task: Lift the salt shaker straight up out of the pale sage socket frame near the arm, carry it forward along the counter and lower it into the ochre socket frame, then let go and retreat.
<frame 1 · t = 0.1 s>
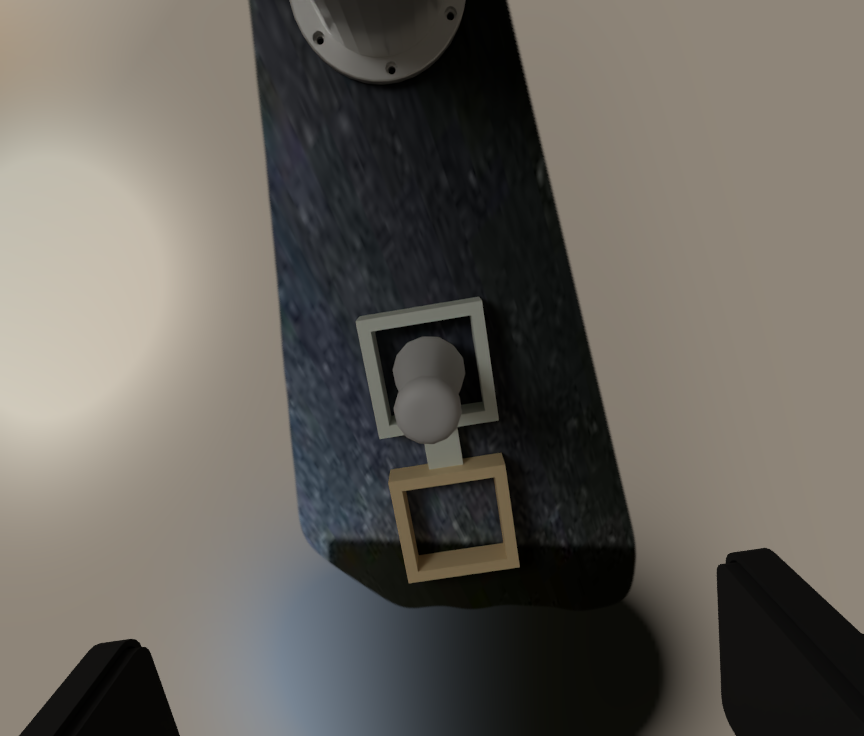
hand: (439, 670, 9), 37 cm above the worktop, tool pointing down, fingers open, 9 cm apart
sockets: (442, 440, 47), on the worktop
salt shaker: (429, 363, 45), resting in sockets
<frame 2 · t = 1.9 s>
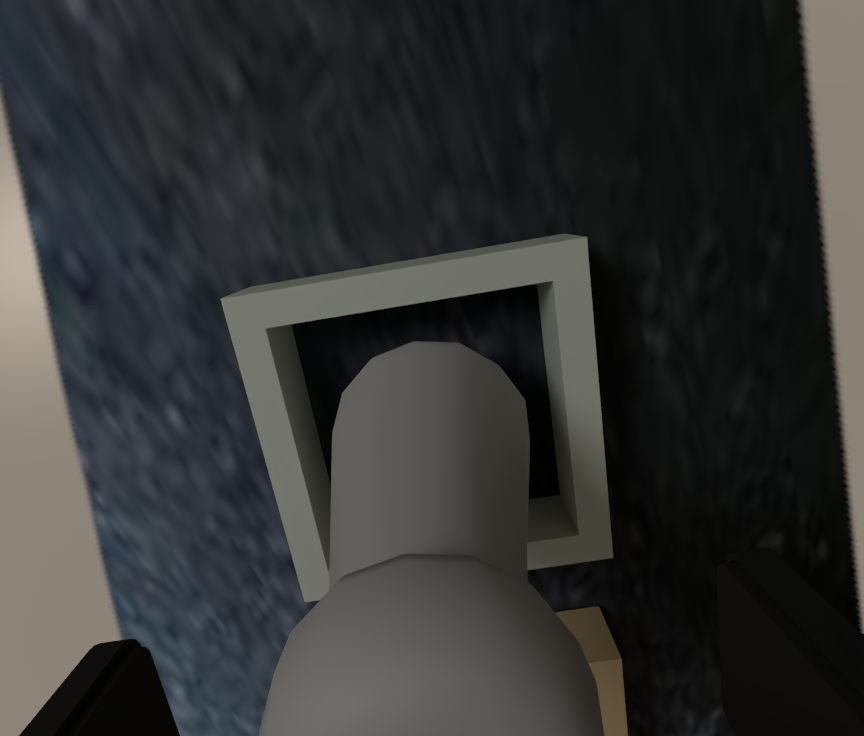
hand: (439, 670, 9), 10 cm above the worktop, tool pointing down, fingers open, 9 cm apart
sockets: (461, 580, 20), on the worktop
salt shaker: (431, 406, 18), resting in sockets
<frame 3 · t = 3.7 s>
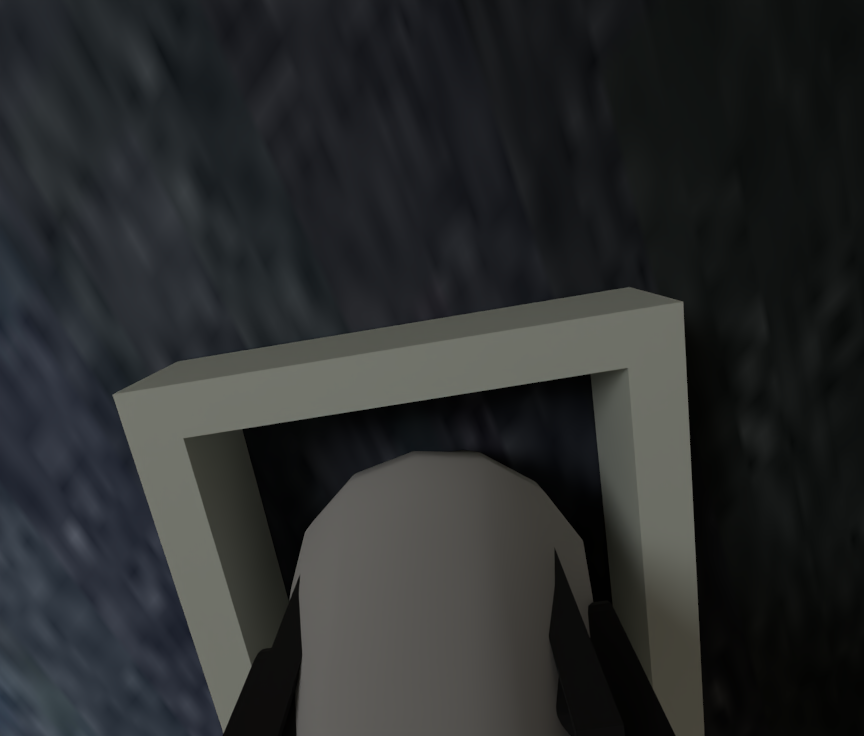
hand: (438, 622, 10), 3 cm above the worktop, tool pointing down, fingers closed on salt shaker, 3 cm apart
salt shaker: (438, 522, 13), resting in sockets, touching gripper
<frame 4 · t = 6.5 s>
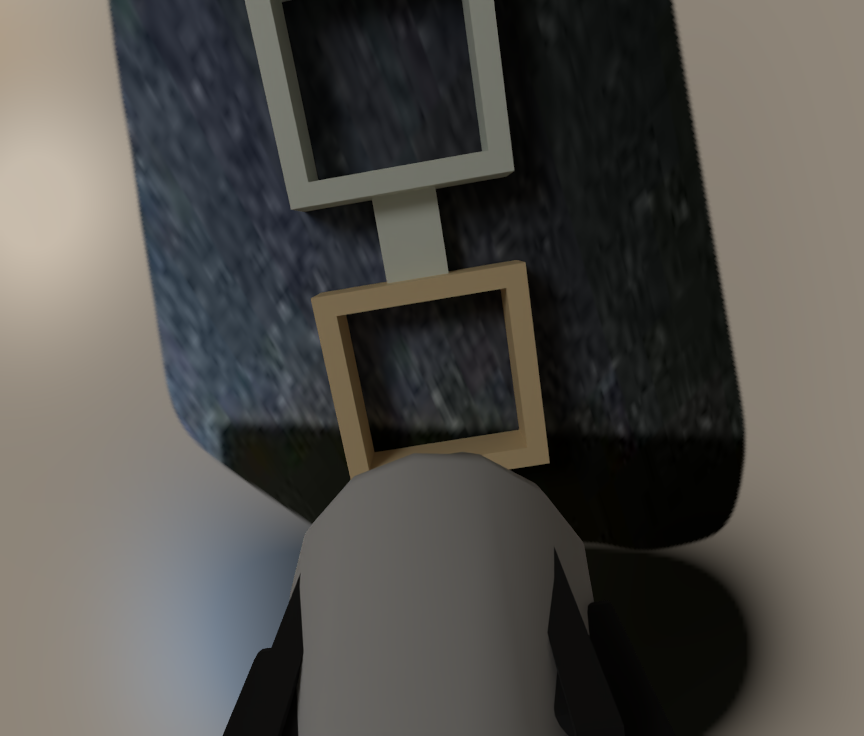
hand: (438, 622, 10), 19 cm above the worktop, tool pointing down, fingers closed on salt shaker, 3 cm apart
sockets: (411, 236, 26), on the worktop
salt shaker: (439, 524, 13), point 15 cm above the worktop, touching gripper
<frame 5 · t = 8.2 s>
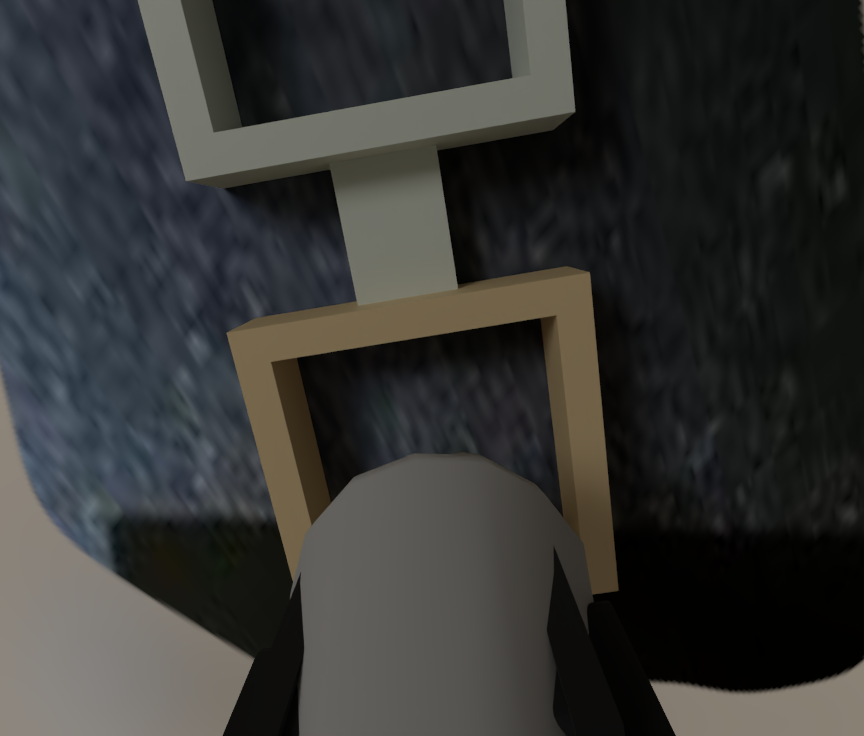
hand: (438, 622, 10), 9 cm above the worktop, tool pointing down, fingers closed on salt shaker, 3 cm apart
sockets: (398, 228, 16), on the worktop
salt shaker: (439, 524, 13), point 5 cm above the worktop, touching gripper
when the fingers open (5 cm above the worktop, at t = 9.7 s): salt shaker drops 1 cm, resting in sockets.
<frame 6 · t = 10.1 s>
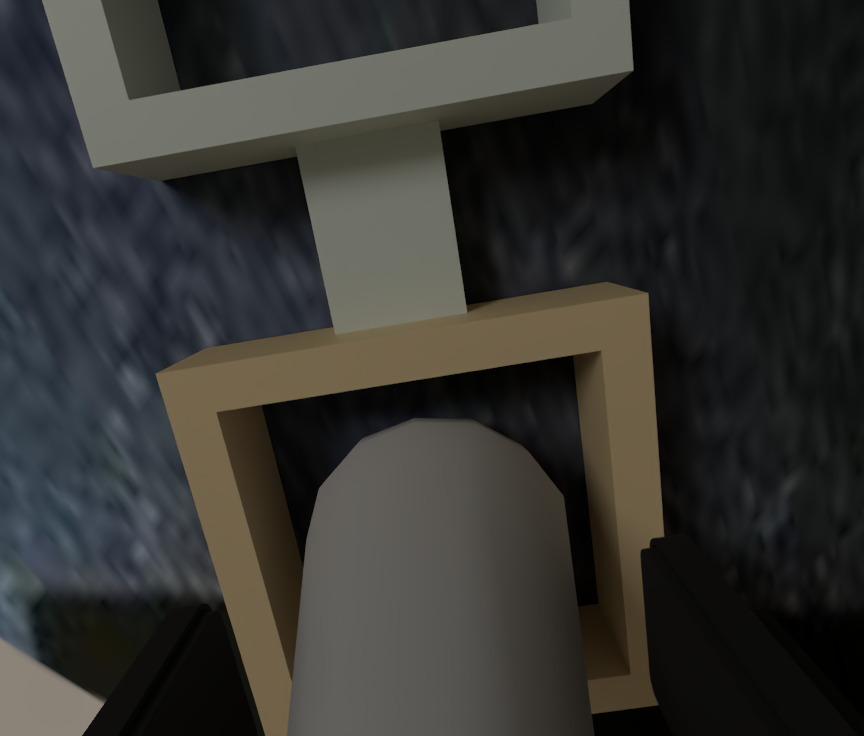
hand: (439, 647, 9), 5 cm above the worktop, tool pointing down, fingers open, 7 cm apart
sockets: (388, 232, 13), on the worktop
salt shaker: (437, 487, 14), resting in sockets
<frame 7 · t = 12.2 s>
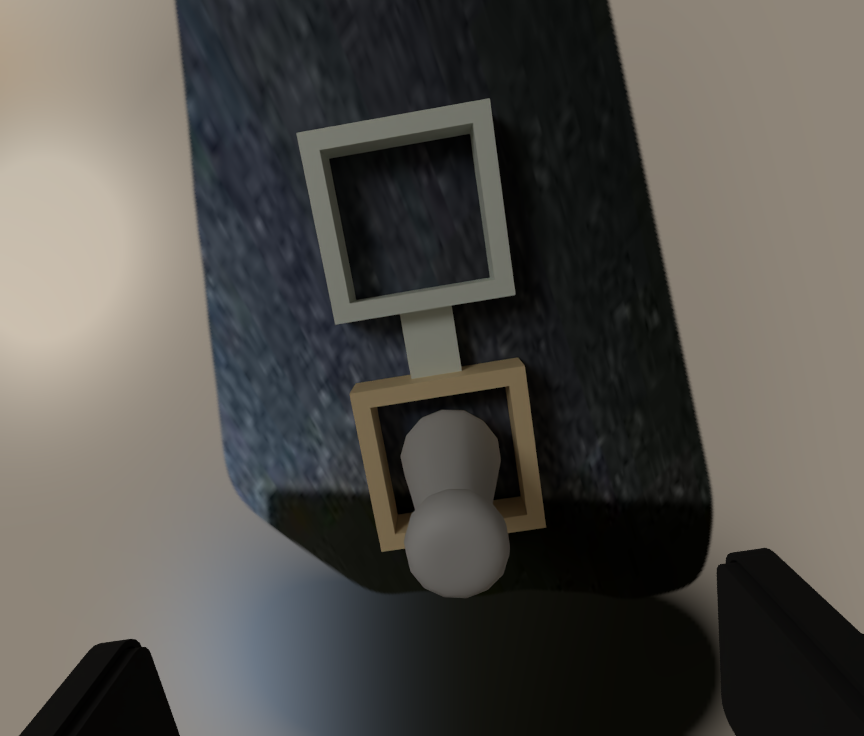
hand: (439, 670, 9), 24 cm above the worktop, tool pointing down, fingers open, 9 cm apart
sockets: (431, 338, 32), on the worktop
salt shaker: (449, 442, 34), resting in sockets
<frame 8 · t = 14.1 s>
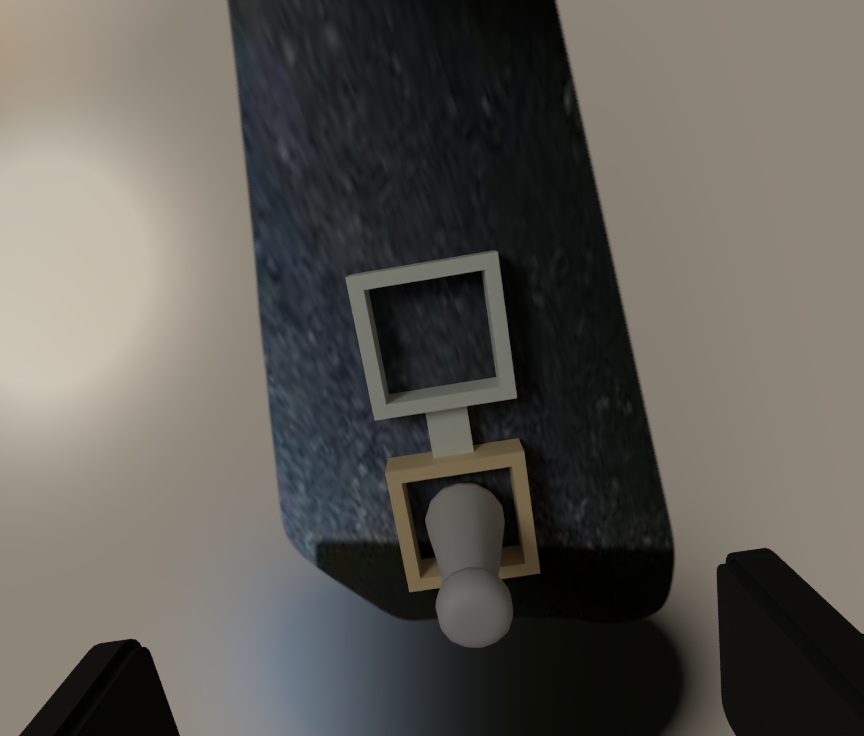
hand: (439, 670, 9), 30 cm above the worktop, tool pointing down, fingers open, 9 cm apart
sockets: (448, 423, 40), on the worktop
salt shaker: (462, 503, 42), resting in sockets
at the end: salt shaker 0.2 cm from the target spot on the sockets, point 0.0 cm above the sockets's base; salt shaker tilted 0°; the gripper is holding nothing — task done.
